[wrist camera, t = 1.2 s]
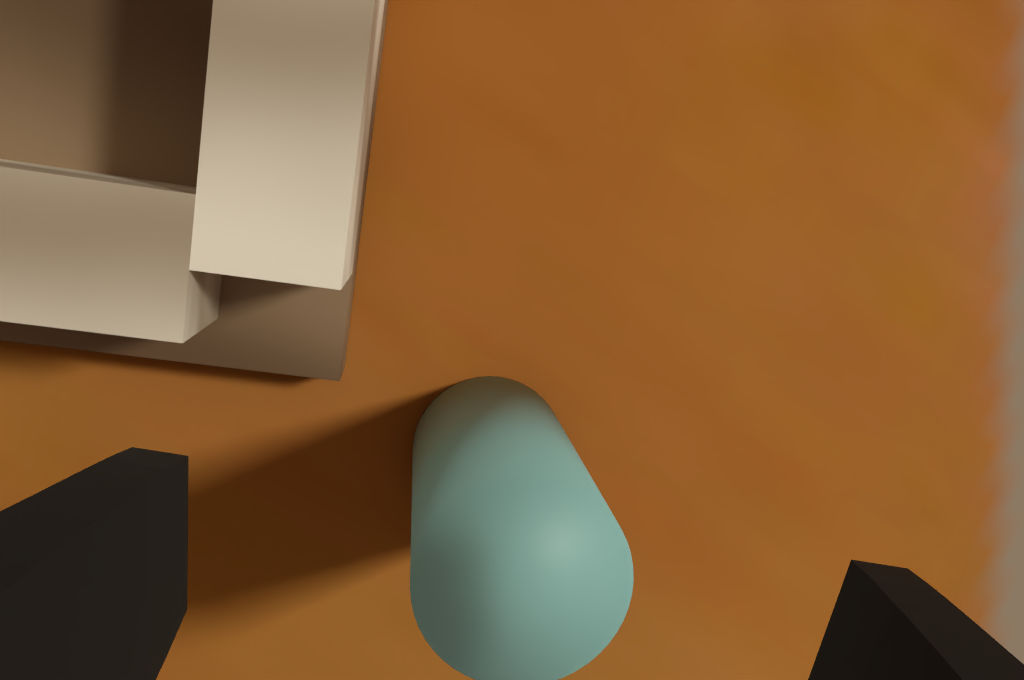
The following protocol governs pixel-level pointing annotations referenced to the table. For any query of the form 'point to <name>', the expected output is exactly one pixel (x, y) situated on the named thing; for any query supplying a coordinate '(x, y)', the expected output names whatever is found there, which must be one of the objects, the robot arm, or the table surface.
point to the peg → (510, 538)
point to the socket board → (186, 177)
